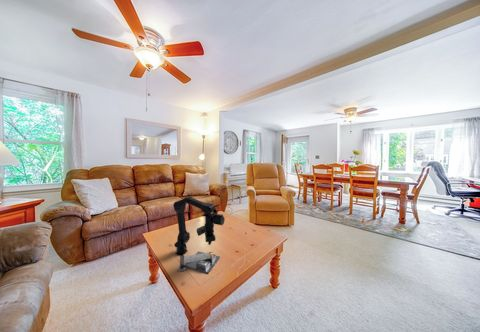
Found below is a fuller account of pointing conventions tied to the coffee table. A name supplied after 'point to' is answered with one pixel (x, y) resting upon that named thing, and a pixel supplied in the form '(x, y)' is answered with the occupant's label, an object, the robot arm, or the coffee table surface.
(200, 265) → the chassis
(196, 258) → the cable arm
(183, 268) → the pivot post
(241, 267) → the coffee table surface
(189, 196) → the robot arm
